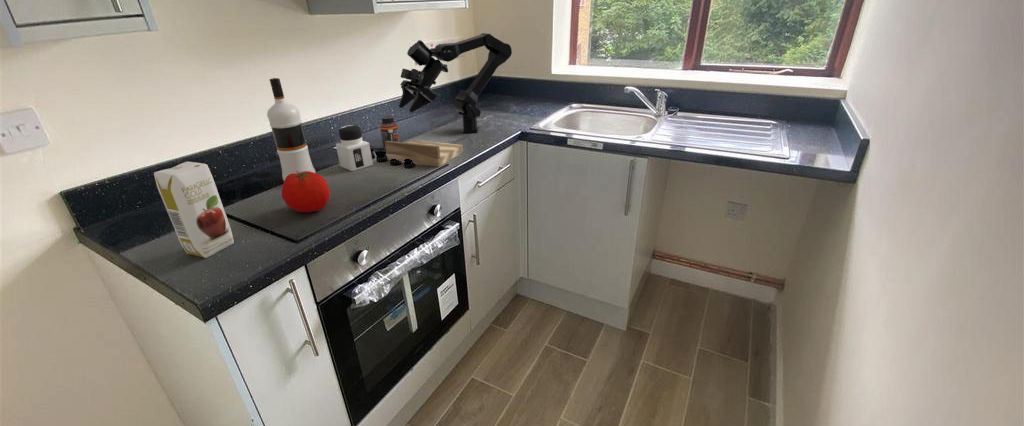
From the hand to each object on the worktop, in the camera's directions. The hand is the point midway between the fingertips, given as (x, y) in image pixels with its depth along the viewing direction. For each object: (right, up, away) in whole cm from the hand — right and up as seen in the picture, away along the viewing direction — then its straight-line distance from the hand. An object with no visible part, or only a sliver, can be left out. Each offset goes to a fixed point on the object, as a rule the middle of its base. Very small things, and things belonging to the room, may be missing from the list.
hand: (404, 109), depth 159 cm
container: (-12, -22, -15) cm, 29 cm away
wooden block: (+9, -18, -8) cm, 22 cm away
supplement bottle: (-5, -14, +2) cm, 15 cm away
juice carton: (-28, -45, -61) cm, 81 cm away
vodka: (-26, -27, -24) cm, 45 cm away
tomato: (-14, -37, -44) cm, 59 cm away
